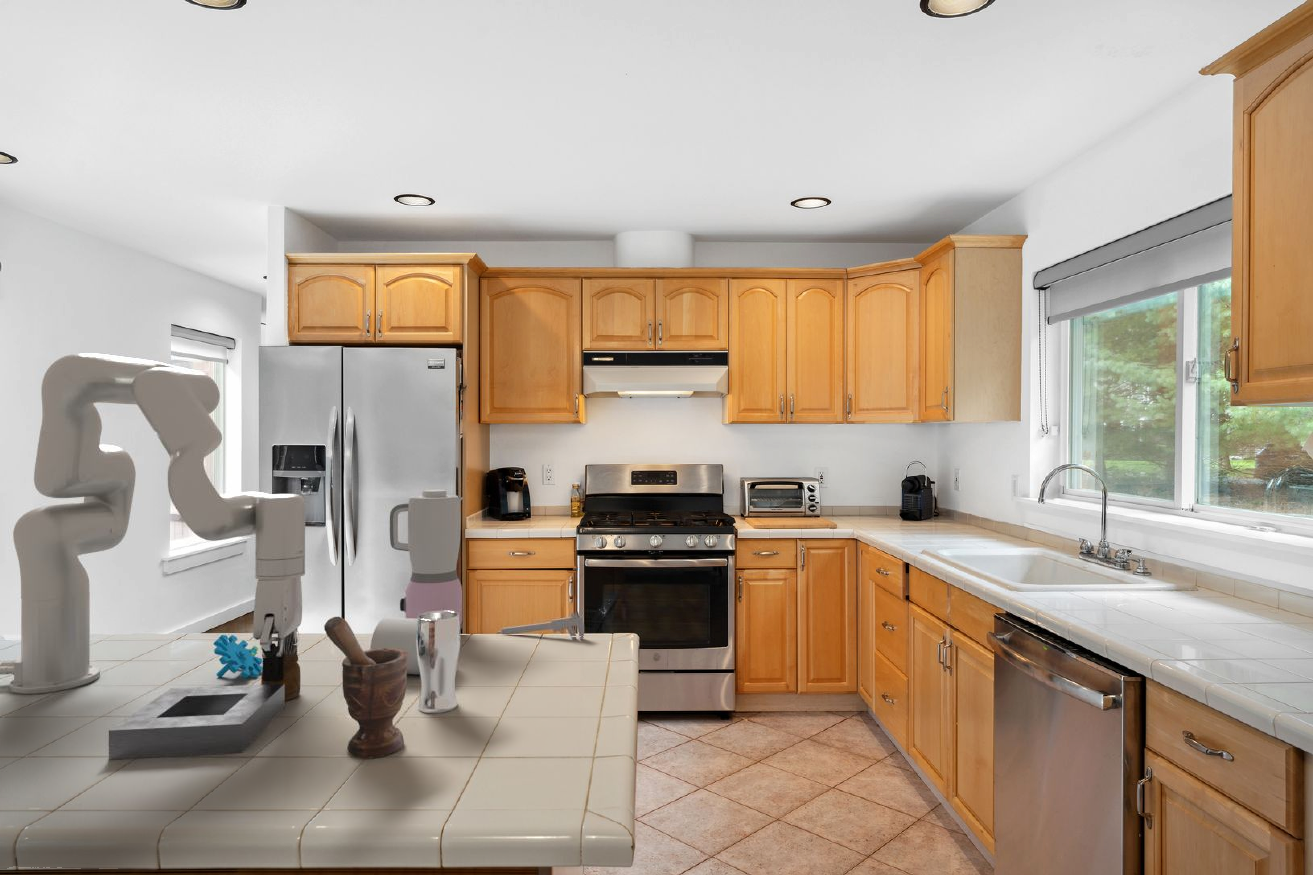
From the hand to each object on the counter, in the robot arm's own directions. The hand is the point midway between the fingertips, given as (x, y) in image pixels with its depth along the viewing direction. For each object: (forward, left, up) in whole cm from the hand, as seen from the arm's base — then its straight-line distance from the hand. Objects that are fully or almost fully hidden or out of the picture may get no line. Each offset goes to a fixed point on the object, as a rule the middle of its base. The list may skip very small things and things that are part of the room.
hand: (280, 673), depth 126 cm
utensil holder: (0, 0, -4) cm, 4 cm away
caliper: (+43, +33, -5) cm, 54 cm away
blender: (+18, +38, -4) cm, 42 cm away
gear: (-11, +13, -4) cm, 18 cm away
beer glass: (+27, -8, -4) cm, 28 cm away
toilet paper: (+19, +11, -4) cm, 22 cm away
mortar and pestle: (+20, -25, -4) cm, 32 cm away
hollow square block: (-6, -14, -4) cm, 16 cm away
